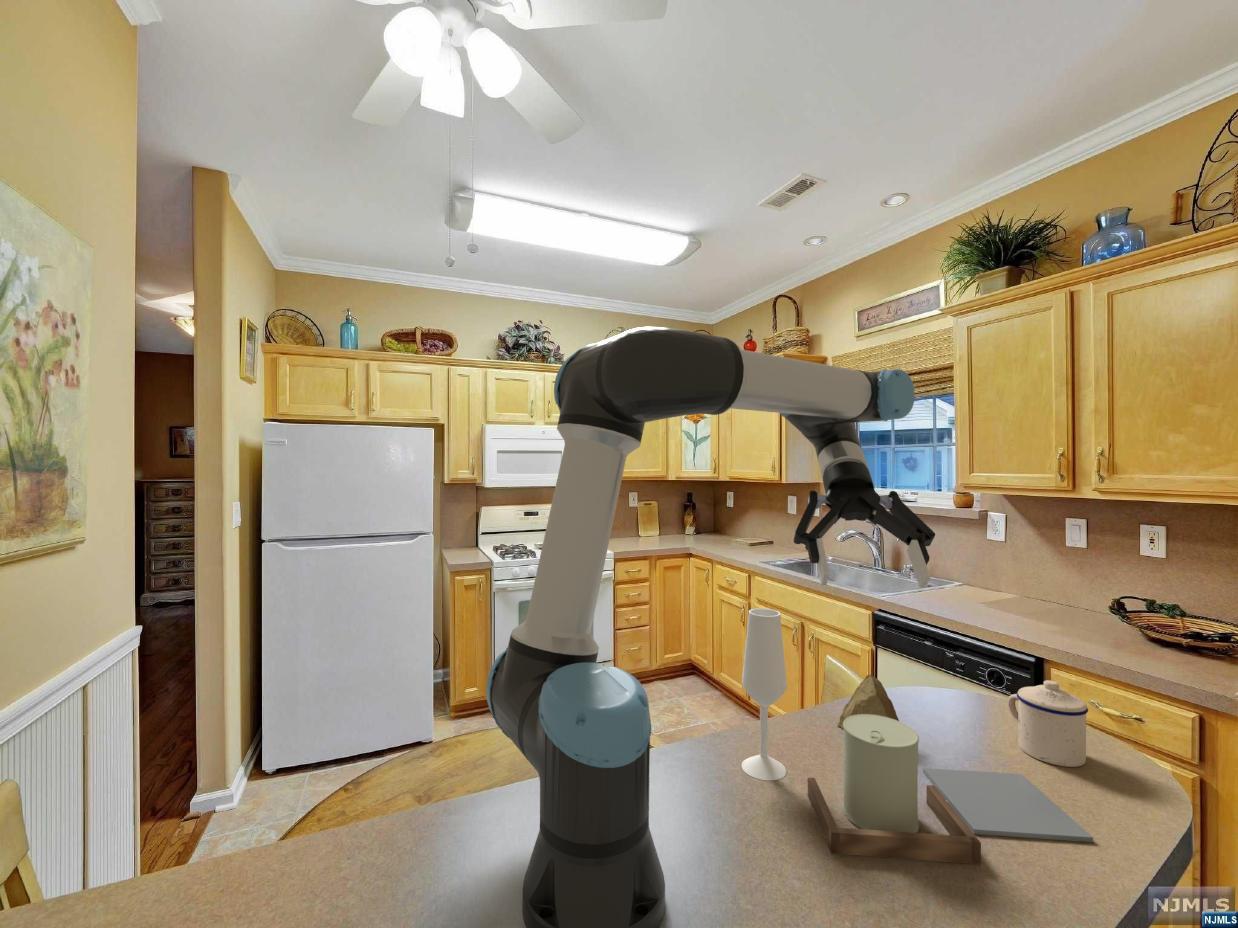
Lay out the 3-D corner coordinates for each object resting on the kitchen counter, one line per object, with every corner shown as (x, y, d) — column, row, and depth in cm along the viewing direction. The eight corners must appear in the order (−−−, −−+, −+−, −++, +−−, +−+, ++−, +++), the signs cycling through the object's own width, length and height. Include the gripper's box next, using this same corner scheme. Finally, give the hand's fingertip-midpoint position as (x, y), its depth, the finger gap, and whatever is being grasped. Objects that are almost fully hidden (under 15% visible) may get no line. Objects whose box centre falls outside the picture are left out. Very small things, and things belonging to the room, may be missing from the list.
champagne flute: (774, 786, 79) (775, 621, 79) (733, 768, 83) (734, 612, 83) (793, 766, 84) (794, 611, 84) (753, 751, 88) (754, 604, 89)
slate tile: (973, 833, 69) (973, 829, 69) (923, 771, 83) (923, 767, 83) (1093, 842, 68) (1093, 837, 68) (1021, 777, 81) (1021, 773, 81)
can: (835, 820, 71) (835, 729, 71) (850, 787, 79) (850, 704, 79) (914, 849, 66) (914, 750, 66) (922, 810, 74) (923, 721, 74)
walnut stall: (831, 852, 65) (831, 832, 65) (807, 795, 77) (807, 777, 77) (980, 864, 64) (981, 842, 64) (934, 803, 75) (934, 785, 75)
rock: (925, 743, 87) (900, 707, 97) (893, 702, 87) (872, 670, 96) (866, 777, 89) (848, 738, 99) (835, 736, 88) (820, 701, 98)
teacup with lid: (1103, 765, 85) (1103, 690, 85) (1056, 772, 83) (1056, 695, 83) (1030, 728, 97) (1030, 663, 97) (987, 734, 95) (988, 667, 95)
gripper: (916, 489, 94) (958, 597, 79) (768, 488, 97) (782, 592, 82) (929, 458, 89) (977, 568, 74) (772, 459, 92) (788, 564, 77)
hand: (874, 581), depth 78 cm, fingers open, 13 cm apart
